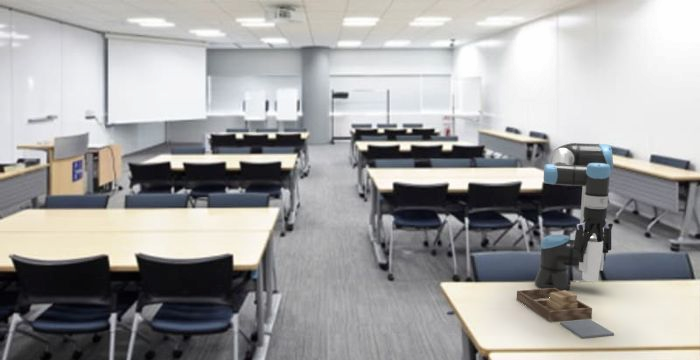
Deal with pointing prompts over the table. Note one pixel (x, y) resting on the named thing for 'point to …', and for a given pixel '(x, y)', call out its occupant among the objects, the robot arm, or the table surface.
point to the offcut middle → (560, 306)
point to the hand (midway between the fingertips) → (590, 270)
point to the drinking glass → (593, 260)
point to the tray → (551, 316)
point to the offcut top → (563, 297)
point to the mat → (586, 328)
